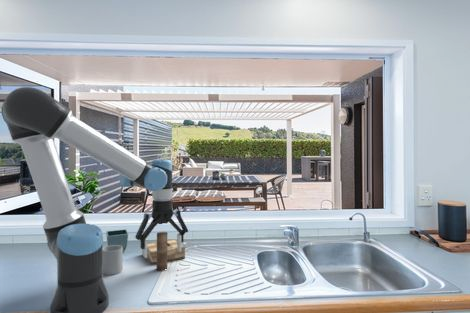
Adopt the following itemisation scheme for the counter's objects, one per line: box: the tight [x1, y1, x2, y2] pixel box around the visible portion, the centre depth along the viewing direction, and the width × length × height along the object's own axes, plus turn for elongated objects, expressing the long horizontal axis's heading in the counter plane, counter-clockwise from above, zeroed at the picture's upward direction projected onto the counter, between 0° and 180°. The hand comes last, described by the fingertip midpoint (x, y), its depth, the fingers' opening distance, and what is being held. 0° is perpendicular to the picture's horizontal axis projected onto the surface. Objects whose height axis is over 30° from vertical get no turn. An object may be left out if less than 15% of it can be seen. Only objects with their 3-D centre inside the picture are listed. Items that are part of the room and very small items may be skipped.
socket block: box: [145, 238, 186, 266], centre depth 134 cm, size 14×14×5 cm
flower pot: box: [105, 229, 129, 253], centre depth 139 cm, size 9×9×9 cm
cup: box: [102, 245, 124, 276], centre depth 118 cm, size 7×10×9 cm
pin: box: [156, 231, 168, 272], centre depth 120 cm, size 4×4×14 cm
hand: (162, 253), depth 120 cm, fingers open, 13 cm apart
